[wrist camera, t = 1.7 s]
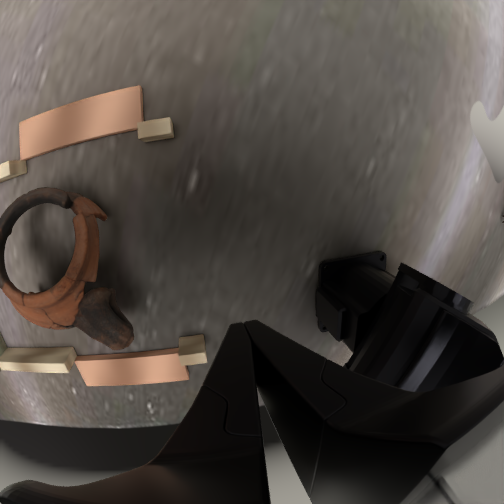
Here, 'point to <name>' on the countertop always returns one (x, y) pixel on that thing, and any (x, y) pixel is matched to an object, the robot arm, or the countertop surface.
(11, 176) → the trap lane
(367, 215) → the countertop surface
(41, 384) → the countertop surface
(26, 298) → the pottery mug
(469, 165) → the countertop surface
